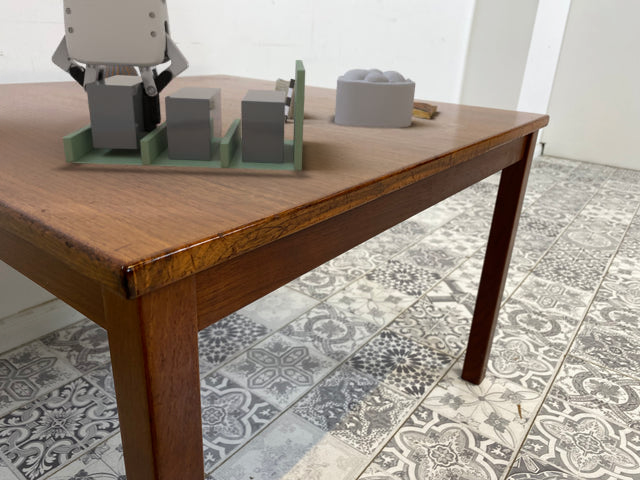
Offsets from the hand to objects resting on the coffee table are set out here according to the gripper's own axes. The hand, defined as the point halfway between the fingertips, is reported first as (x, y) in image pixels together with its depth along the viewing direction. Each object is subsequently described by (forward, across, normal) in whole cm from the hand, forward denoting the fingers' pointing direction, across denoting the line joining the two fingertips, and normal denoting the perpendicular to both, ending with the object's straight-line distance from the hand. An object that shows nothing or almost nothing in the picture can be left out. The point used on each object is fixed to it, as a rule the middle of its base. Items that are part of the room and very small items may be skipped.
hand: (127, 127), depth 59 cm
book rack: (+3, -8, 0) cm, 8 cm away
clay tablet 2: (+2, -16, 0) cm, 16 cm away
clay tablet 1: (+2, -8, 0) cm, 8 cm away
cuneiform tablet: (+3, -18, -31) cm, 36 cm away
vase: (+3, +12, -39) cm, 41 cm away
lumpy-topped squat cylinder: (+4, -33, -29) cm, 44 cm away
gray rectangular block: (+1, 0, 0) cm, 1 cm away
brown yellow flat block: (+4, -45, -41) cm, 61 cm away
